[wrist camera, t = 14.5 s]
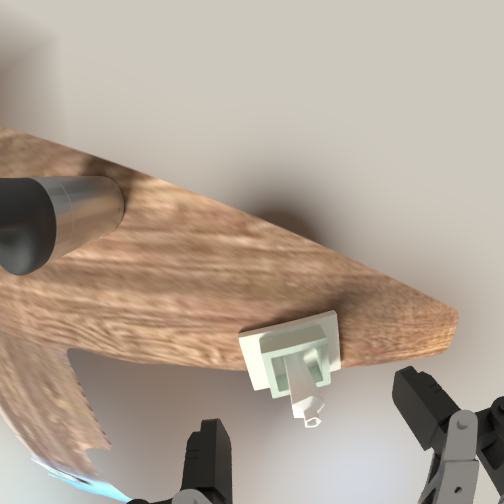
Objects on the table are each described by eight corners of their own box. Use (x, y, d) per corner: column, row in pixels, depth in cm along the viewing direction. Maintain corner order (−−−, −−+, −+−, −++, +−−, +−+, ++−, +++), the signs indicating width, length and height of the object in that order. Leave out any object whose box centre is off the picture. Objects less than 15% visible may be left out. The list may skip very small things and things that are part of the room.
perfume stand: (253, 385, 45) (256, 405, 40) (238, 333, 42) (238, 352, 37) (338, 364, 46) (347, 382, 40) (333, 309, 42) (345, 325, 37)
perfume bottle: (285, 342, 42) (306, 408, 27) (308, 349, 42) (335, 413, 28) (273, 363, 43) (287, 430, 28) (295, 369, 43) (316, 434, 29)
